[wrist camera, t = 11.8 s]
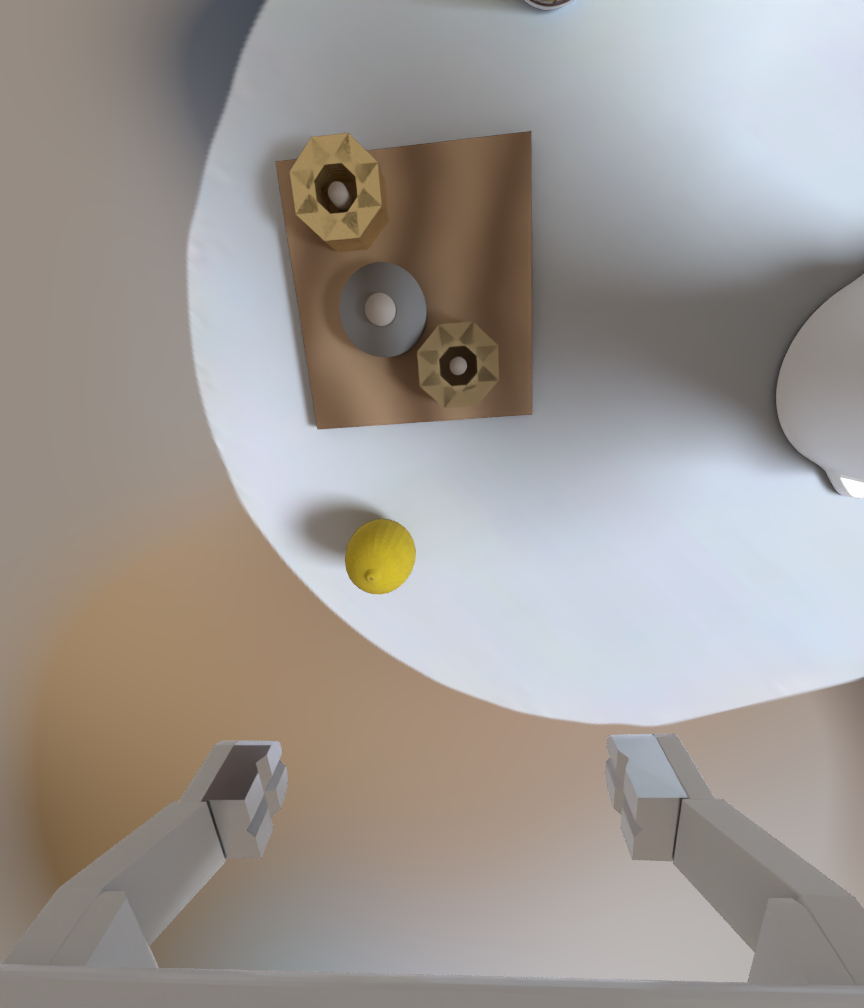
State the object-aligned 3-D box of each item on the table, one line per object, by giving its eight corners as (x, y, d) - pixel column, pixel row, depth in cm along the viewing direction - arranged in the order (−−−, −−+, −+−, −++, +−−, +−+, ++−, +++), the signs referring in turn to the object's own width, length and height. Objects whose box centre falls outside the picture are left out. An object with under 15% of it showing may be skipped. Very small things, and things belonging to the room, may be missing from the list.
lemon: (347, 519, 38) (320, 558, 30) (405, 497, 37) (391, 532, 30) (373, 572, 40) (353, 621, 32) (428, 552, 39) (422, 599, 31)
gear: (382, 153, 28) (374, 129, 26) (391, 247, 30) (384, 235, 27) (302, 162, 29) (285, 139, 26) (314, 254, 31) (300, 243, 28)
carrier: (528, 140, 29) (539, 104, 25) (529, 412, 34) (539, 419, 30) (282, 169, 30) (255, 139, 26) (321, 427, 36) (304, 435, 32)
